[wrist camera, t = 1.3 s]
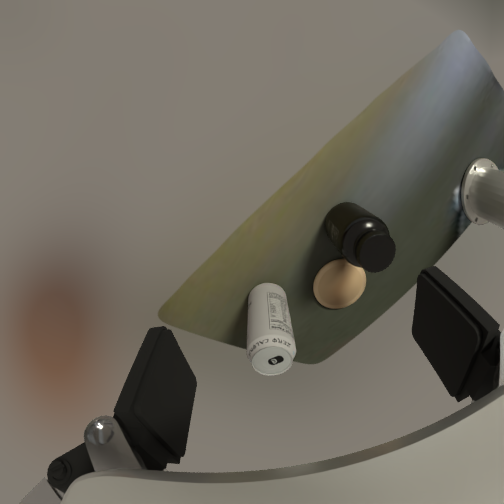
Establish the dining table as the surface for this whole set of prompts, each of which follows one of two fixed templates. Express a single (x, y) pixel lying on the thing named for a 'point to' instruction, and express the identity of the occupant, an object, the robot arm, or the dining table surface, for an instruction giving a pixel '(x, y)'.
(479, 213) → the robot arm
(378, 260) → the supplement bottle
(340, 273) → the coaster
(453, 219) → the dining table surface
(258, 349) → the energy drink can
